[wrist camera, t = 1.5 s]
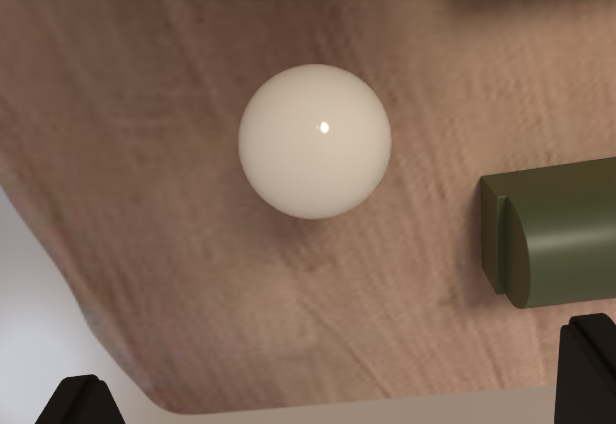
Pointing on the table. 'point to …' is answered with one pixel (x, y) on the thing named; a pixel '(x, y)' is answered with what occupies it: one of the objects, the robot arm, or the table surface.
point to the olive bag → (551, 233)
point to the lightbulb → (314, 141)
